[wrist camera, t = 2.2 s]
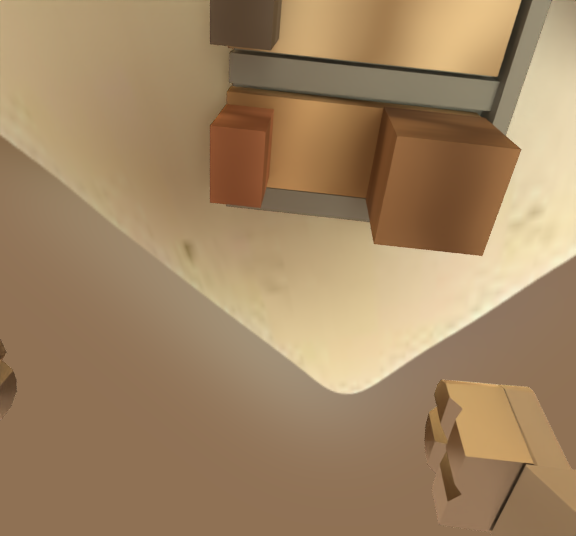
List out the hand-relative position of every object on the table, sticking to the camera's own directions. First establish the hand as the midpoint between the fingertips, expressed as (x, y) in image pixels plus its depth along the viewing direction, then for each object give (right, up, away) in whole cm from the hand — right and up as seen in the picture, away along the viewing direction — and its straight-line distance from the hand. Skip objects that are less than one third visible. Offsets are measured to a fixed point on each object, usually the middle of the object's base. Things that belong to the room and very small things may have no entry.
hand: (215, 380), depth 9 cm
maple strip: (+5, +15, +13) cm, 20 cm away
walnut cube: (+8, +8, +16) cm, 19 cm away
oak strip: (+5, +9, +17) cm, 20 cm away
